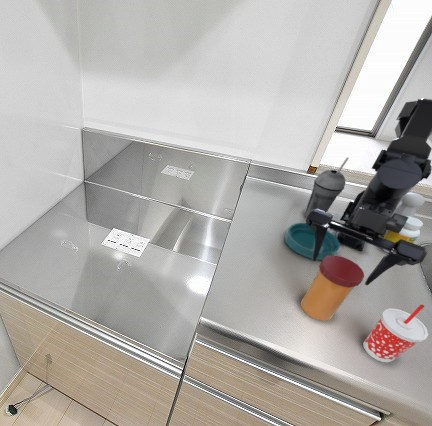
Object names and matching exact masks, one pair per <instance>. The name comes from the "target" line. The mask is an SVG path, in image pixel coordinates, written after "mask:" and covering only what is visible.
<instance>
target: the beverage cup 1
mask: <svg viewBox="0 0 432 426" xmlns="http://www.w3.org/2000/svg"><path fill="white" fill-rule="evenodd" d="M349 158H350V157H346V158H345V159H344V160H343V162H342V164H341V165H340V167H339V168H338V169H337V170H335V169H328V170H324V171H322V172H321V173H319V174H318V175H317V177H316V178H315V179H314V180H313V182H314V183H313V186H312V191H311V194H310V196H309V199H308V203H307V206H306V208H305V213H304V216H305V217H306V218H307V217H308V215H309V213H310V212H311V210H314V209H318V210H321V211H324V212H326V213H328V211H329V209H330V208H331V207H332V205H333V204H334V202H335V200H336V199H337V198H338V197H339V195H340V194H341V193H342V192H343V191H344V190H345V186H346V177H345V175H344V174H343V173H342V172H341V171H342V169H343V168H344V166H345V165H346V164H347V162H348V161H349Z"/></svg>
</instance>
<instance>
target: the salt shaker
mask: <svg viewBox="0 0 432 426" xmlns="http://www.w3.org/2000/svg"><path fill="white" fill-rule="evenodd" d="M425 202H426V199H425V197H424V196H423V195H422V194H419V193H416V192H411V191H409V192H408V193H407V194H406V195H405V196H403V197H402V199H401V201H400V202H399V204H398V206H397V208H396V209H395V211H394V213H397V214H400V215H403V216H410V217H414V216H415V214H416V212H417V209H418V208H420V207H422V206H423V205H424V204H425ZM394 213H393V214H394ZM392 216H393V215H392ZM388 231H389V230H386V232H385V233H384V235H383V237H384V236H385V235H386V234H387V232H388Z"/></svg>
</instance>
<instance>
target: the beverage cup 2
mask: <svg viewBox="0 0 432 426" xmlns="http://www.w3.org/2000/svg"><path fill="white" fill-rule="evenodd" d="M424 308H425V305H424V304H420V305H419V306H418V307H417V308H416V309H415V310H414V311H413V312H412V313H409V312H407V311H404V310H402V309H399V308H386V309H384V310H383V312H382V313H381V315H380V318H379V320H378V322H377V323H376V324H375V326H374V327H373V329H372V330H371V331H370V333H369V334H368V335H367V337H366V338H365V339H364V341H363V343H362V344H363V345H362V346H363V349H364V350H365V353H367V354H368V355H369V356H370V357H371V358H373V359H375V361H379V362H382V363H391V362H393V361H394V360H395V359H397V358H398V357H400V356H401V355H402V354H404V353H405V352H406V351H408V350H409V349H411V348H412V347H414V346H415V345H416V344H419V343H421V342H424V340H425V341H426V340H427V338H428V336H429V331H428V329H427V327H426V326H425V325H424V323H423V322H422V321H421V320H420V319H418V318H417V317H416V316H417V315H418V314H419V313H420V312H421V311H422V310H423V309H424Z"/></svg>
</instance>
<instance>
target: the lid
mask: <svg viewBox="0 0 432 426" xmlns="http://www.w3.org/2000/svg"><path fill="white" fill-rule="evenodd" d="M320 261H321V262H320V263H319V265H318V268H319V269H318V271H319V270H320V272H321V273H322V275H323V276H324V277H325V278H326V279H328V280H329V281H331V282H332V283H334V284H337V285H339V286H343V287H349V288H350V287H354V288H355V287H358V286H359V285H360V284H361V283H362V281H363V280H364V278H365V273H364V270H363V269H362V268H361V267H360V266H359V265H358V264H357V263H356V262H354V261H353V260H351V259H349V258H346V257H343V256H341V255H340V256H339V255H335V256H327V257H325V258H324V259H323V260H320Z"/></svg>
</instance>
